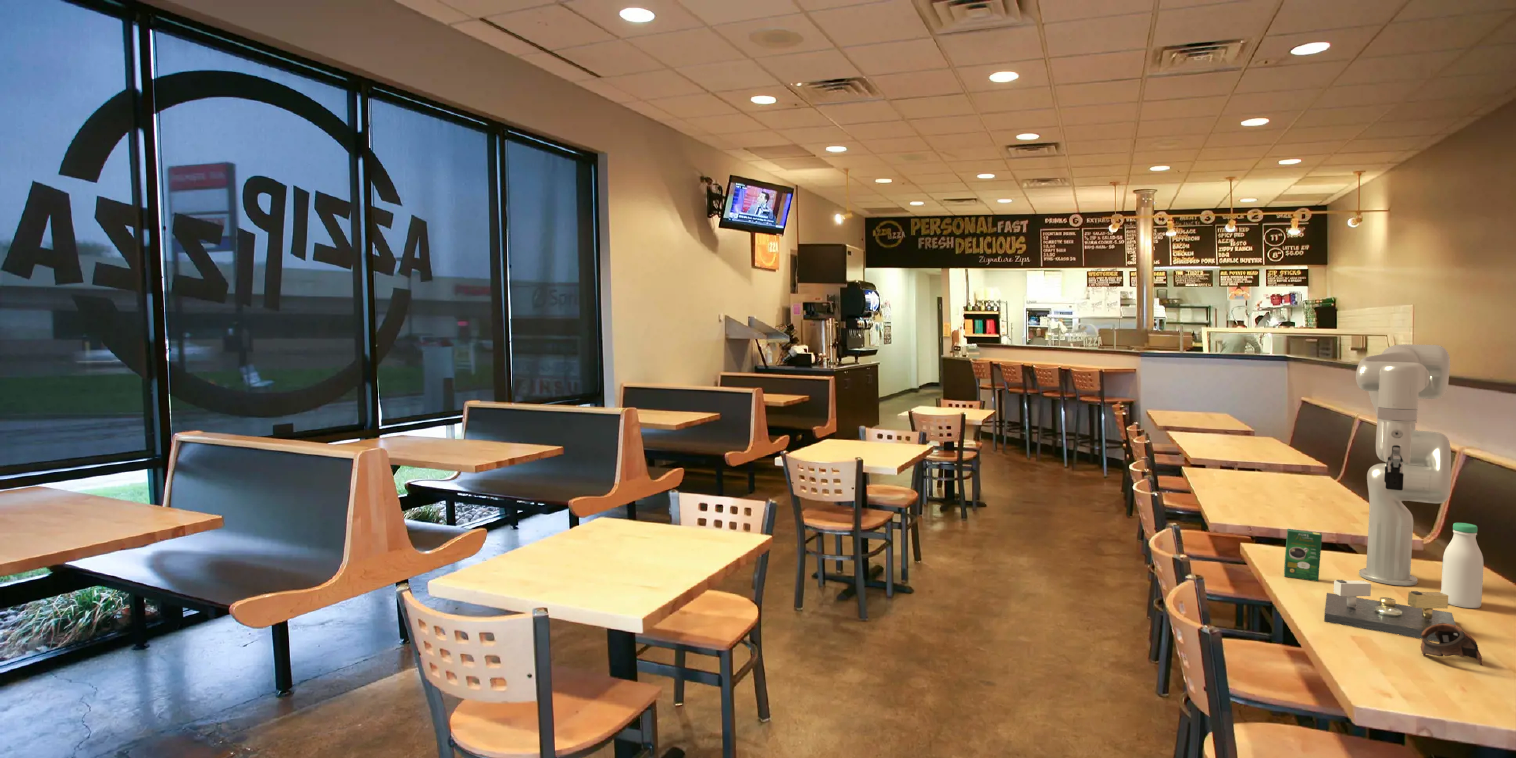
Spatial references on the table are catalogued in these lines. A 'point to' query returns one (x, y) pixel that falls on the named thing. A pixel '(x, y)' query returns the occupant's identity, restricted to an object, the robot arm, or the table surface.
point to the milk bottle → (1463, 568)
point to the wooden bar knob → (1427, 602)
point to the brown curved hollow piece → (1449, 642)
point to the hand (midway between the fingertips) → (1393, 486)
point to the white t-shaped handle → (1352, 590)
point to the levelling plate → (1383, 616)
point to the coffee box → (1302, 554)
